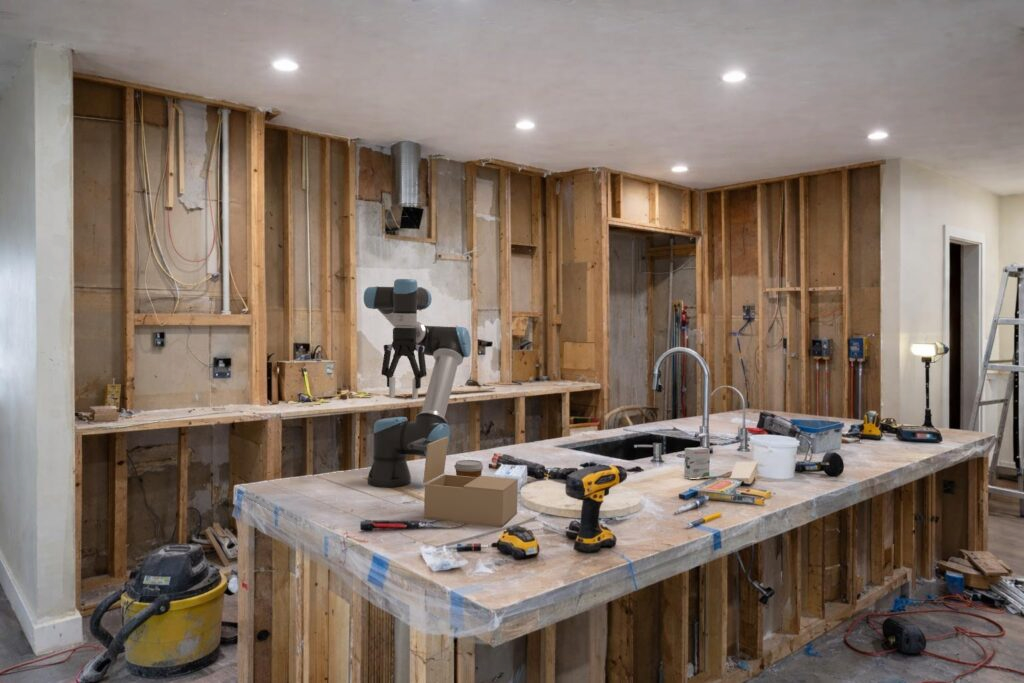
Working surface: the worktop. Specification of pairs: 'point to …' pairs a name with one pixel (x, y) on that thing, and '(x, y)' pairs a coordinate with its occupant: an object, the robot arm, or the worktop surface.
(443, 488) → the carton
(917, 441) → the worktop surface
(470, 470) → the disposable coffee cup
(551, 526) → the worktop surface
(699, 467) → the ink box
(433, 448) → the flap
